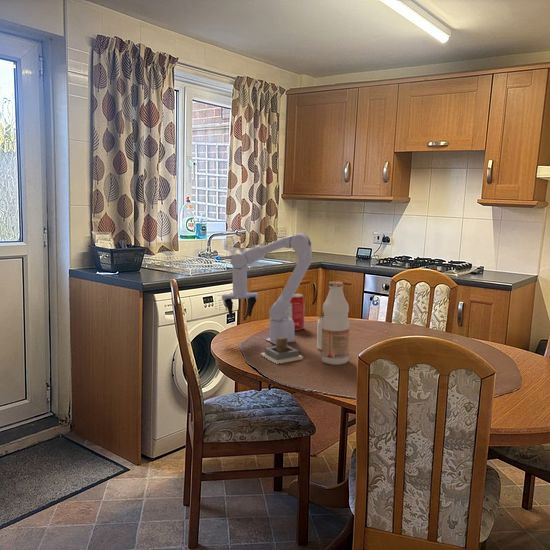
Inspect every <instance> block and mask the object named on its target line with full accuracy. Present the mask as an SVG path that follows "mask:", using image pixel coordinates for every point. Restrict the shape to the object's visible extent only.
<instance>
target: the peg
mask: <svg viewBox="0 0 550 550" xmlns="http://www.w3.org/2000/svg"><path fill="white" fill-rule="evenodd" d="M287 341H288V338H286V337H277V338H276V344H275V346H276V352H278V353H281V352H286V351H287V345H288V342H287Z"/></svg>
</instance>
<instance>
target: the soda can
mask: <svg viewBox="0 0 550 550" xmlns="http://www.w3.org/2000/svg"><path fill="white" fill-rule="evenodd" d="M305 302H306V301H305V298H304V294H301V293H294V295H293V297H292V299H291V301H290V303H289V305H288V312H287V313H286V316H287V317H288V318H291V319H292V320H293V322H294V332H295V331H296V332H297V331H301V330H303V329H304V328H305V308H306V307H305V304H306V303H305Z"/></svg>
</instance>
